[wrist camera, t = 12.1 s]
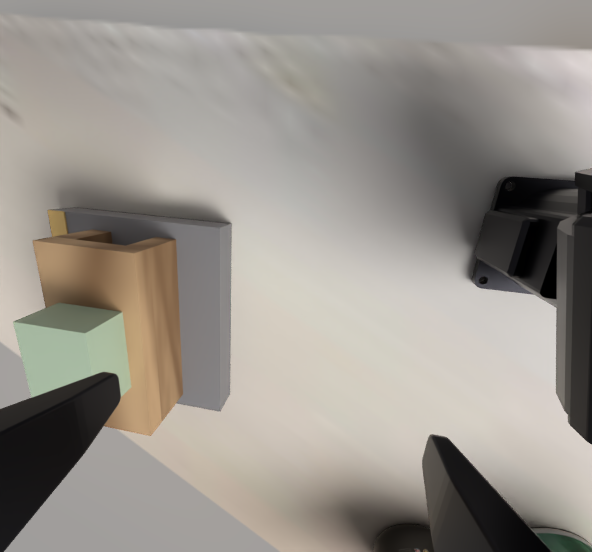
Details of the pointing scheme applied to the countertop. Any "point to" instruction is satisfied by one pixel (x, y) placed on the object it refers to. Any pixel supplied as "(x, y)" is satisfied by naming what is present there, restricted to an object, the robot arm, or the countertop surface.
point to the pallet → (125, 311)
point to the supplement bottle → (405, 539)
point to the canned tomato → (562, 540)
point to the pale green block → (72, 346)
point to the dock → (181, 289)
